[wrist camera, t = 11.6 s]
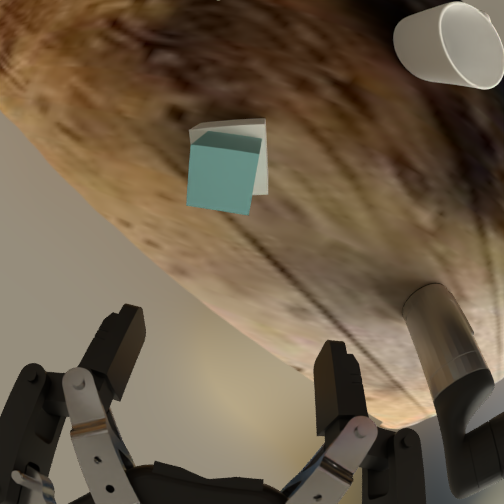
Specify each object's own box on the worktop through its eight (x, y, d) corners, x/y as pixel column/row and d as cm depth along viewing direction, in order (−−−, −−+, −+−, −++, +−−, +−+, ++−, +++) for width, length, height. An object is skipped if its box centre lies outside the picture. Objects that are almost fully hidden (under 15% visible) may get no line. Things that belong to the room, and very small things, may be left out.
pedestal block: (265, 118, 28) (264, 124, 23) (268, 178, 31) (267, 194, 27) (200, 122, 28) (188, 129, 24) (207, 180, 32) (198, 197, 28)
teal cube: (262, 138, 24) (259, 154, 19) (253, 187, 27) (248, 215, 22) (208, 130, 24) (190, 144, 19) (202, 180, 27) (186, 205, 22)
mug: (430, -8, 15) (479, -24, 7) (472, 44, 18) (527, 46, 9) (376, 40, 21) (421, 27, 13) (425, 94, 24) (479, 107, 15)
